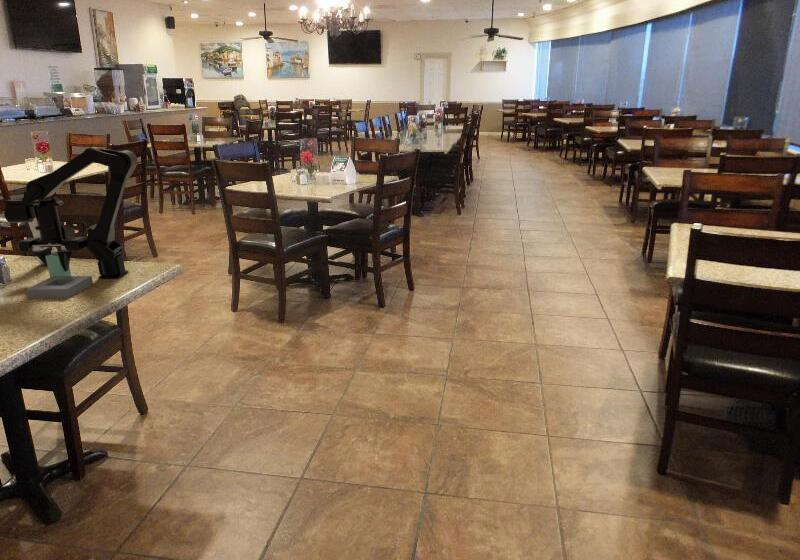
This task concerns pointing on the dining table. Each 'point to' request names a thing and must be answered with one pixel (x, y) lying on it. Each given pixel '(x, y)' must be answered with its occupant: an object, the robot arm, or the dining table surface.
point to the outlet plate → (59, 287)
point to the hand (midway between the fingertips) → (59, 271)
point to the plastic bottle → (38, 236)
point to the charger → (56, 265)
